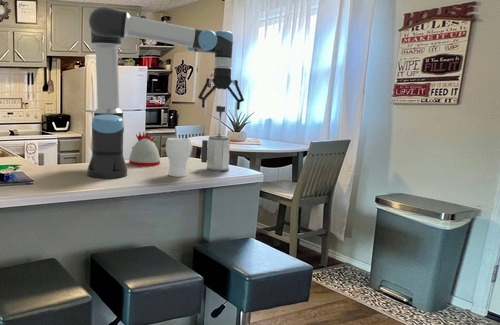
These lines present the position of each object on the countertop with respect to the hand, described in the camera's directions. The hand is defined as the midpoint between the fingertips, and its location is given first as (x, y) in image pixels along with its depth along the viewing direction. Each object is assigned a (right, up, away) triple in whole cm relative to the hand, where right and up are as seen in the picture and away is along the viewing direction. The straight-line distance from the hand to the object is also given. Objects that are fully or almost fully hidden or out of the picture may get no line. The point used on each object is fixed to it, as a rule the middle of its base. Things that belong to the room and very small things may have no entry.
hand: (220, 116), depth 198 cm
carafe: (-3, -24, +4) cm, 24 cm away
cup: (-17, -26, -13) cm, 34 cm away
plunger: (-1, -14, +2) cm, 15 cm away
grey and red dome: (-36, -21, +8) cm, 42 cm away
